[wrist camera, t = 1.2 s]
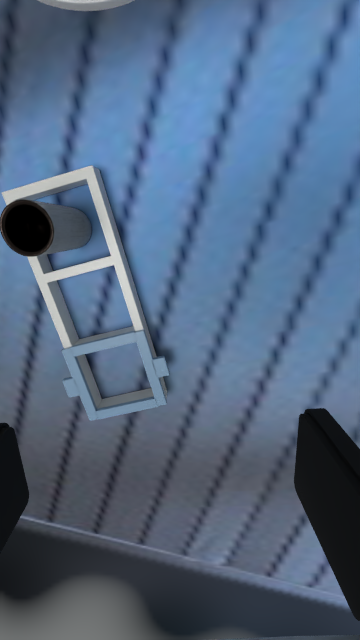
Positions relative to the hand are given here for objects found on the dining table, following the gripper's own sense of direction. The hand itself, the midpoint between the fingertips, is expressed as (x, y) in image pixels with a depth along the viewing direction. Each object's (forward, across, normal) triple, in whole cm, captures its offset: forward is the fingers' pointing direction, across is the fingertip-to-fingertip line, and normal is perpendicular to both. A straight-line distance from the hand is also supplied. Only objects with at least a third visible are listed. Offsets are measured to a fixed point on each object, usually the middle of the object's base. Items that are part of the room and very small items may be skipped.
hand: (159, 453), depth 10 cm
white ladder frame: (+28, +9, +1) cm, 29 cm away
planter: (+28, +11, -8) cm, 31 cm away
